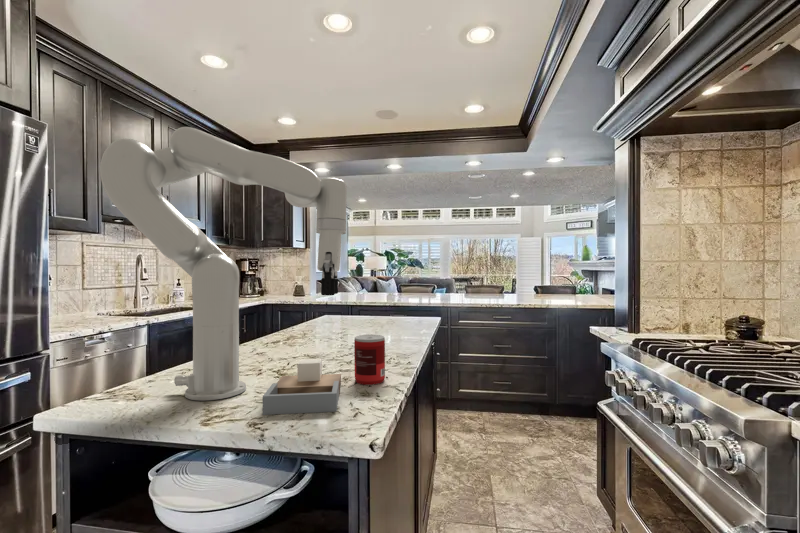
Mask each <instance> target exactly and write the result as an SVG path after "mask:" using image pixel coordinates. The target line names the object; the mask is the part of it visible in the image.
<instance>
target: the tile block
mask: <svg viewBox="0 0 800 533" xmlns="http://www.w3.org/2000/svg"><path fill="white" fill-rule="evenodd" d="M296 367H297V375H298V382H299V381H320V379H321V376H322V375H323V358H321V357H320V358H301V359H299V361H298V363H297V366H296Z"/></svg>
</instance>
